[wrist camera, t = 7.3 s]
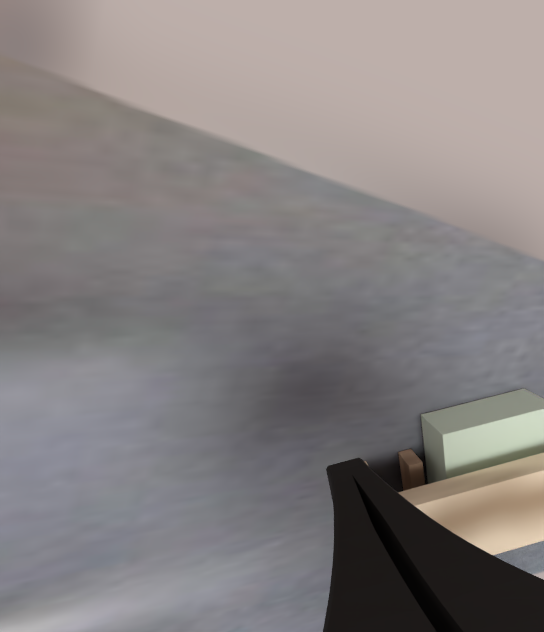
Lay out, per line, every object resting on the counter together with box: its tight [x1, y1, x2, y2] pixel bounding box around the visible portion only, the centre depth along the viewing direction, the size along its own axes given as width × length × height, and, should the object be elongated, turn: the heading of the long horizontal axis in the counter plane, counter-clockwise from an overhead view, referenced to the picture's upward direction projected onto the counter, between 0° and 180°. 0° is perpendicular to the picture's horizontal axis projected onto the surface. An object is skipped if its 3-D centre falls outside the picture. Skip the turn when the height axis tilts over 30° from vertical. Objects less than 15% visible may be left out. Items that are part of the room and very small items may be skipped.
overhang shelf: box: [364, 449, 544, 555], centre depth 22 cm, size 6×20×4 cm, turn 102°
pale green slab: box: [421, 389, 544, 484], centre depth 22 cm, size 7×8×2 cm
